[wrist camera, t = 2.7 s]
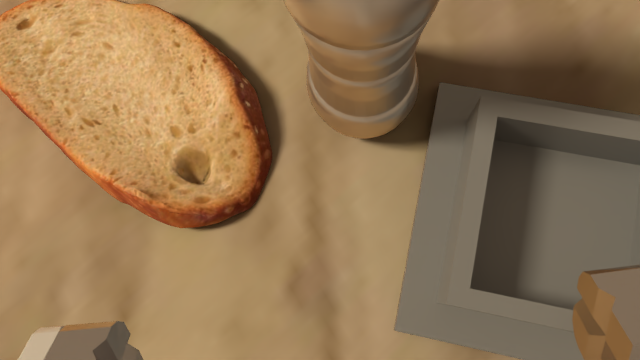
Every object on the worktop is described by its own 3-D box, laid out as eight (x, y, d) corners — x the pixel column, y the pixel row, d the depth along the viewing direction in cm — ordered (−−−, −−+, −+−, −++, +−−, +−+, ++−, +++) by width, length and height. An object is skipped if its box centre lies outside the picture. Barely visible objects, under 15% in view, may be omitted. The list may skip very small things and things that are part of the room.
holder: (668, 391, 29) (726, 410, 25) (394, 329, 31) (398, 336, 27) (693, 129, 32) (748, 101, 27) (438, 87, 34) (449, 54, 29)
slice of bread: (-13, 22, 38) (-53, -7, 35) (234, -40, 38) (219, -75, 34) (10, 274, 34) (-33, 271, 31) (285, 211, 34) (275, 201, 30)
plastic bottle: (371, 29, 35) (373, -300, 16) (437, 107, 34) (531, -146, 14) (290, 87, 35) (190, -174, 15) (353, 169, 33) (332, -3, 14)
